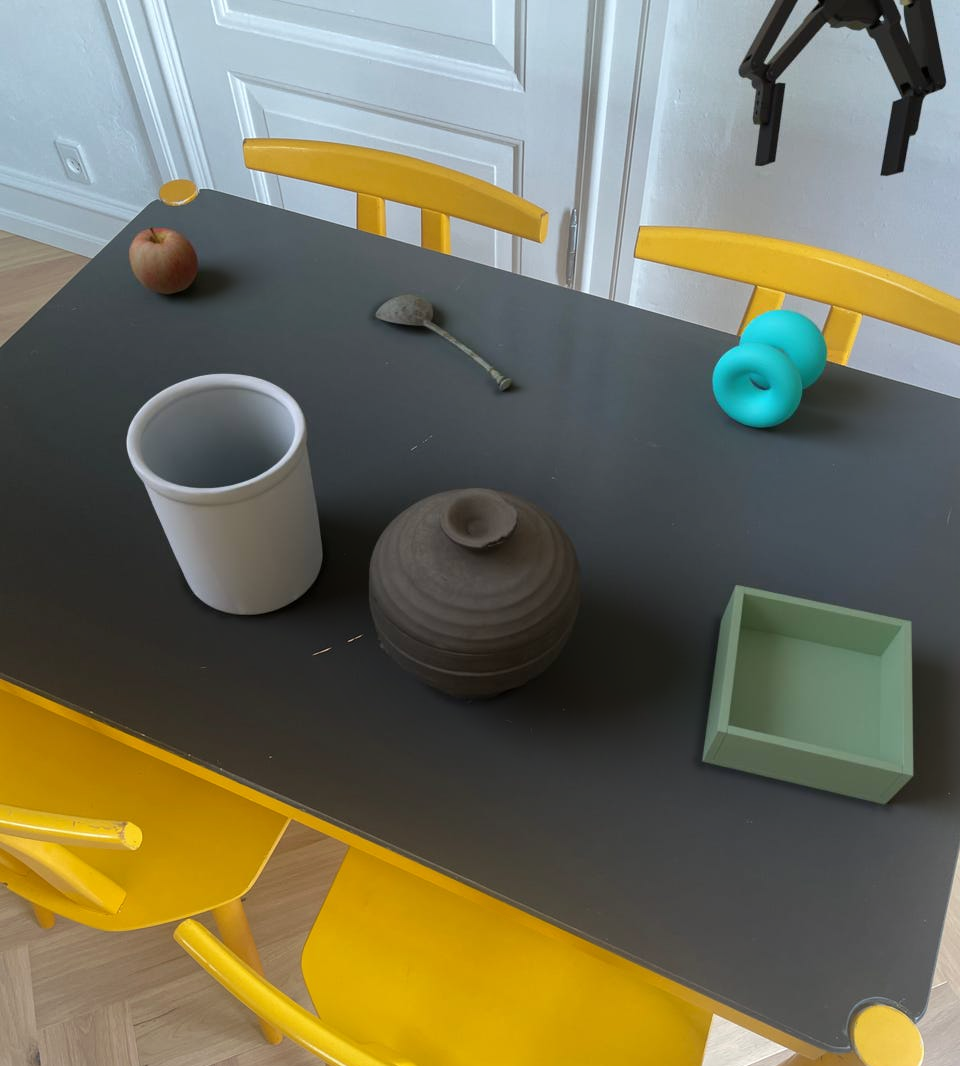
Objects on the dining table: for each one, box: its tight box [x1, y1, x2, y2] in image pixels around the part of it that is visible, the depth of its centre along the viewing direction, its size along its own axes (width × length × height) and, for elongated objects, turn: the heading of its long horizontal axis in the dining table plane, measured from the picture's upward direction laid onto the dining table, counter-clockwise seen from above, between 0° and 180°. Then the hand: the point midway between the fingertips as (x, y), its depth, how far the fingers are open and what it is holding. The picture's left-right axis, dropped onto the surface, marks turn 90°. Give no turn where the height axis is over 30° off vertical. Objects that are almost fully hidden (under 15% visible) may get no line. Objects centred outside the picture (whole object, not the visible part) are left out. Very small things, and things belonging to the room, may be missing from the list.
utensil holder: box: [126, 373, 323, 616], centre depth 82 cm, size 15×15×18 cm
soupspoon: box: [375, 294, 512, 391], centre depth 107 cm, size 22×3×7 cm
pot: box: [368, 487, 581, 701], centre depth 76 cm, size 18×18×20 cm
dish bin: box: [702, 584, 914, 805], centre depth 78 cm, size 16×16×6 cm
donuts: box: [712, 309, 828, 429], centre depth 99 cm, size 10×10×10 cm
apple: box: [128, 226, 199, 295], centre depth 111 cm, size 8×8×8 cm
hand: (829, 169), depth 87 cm, fingers open, 13 cm apart
